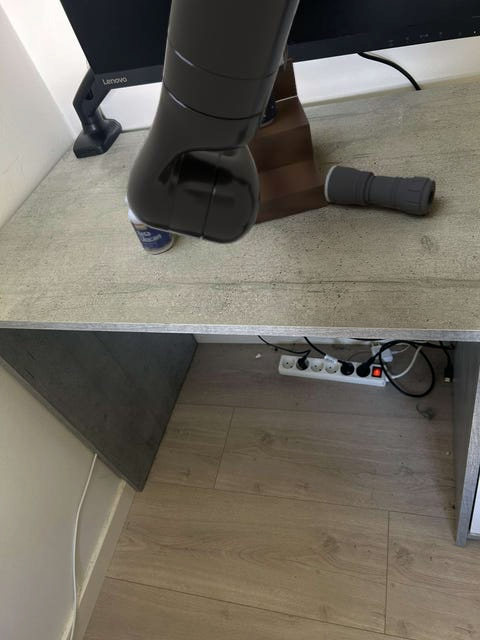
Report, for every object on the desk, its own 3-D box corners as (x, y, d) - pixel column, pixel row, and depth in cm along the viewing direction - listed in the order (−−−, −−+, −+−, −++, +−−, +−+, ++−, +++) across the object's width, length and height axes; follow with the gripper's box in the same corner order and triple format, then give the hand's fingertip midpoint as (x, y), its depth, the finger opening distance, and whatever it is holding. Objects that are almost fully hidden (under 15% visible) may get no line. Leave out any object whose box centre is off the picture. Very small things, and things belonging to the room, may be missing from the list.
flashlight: (437, 201, 72) (440, 169, 68) (426, 224, 69) (427, 192, 65) (340, 188, 79) (337, 158, 75) (326, 208, 77) (322, 179, 73)
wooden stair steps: (305, 147, 90) (291, 57, 78) (327, 205, 77) (315, 108, 66) (232, 167, 92) (208, 82, 80) (241, 227, 79) (215, 136, 67)
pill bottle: (144, 258, 79) (119, 210, 72) (144, 238, 83) (120, 190, 76) (175, 249, 79) (154, 199, 72) (174, 230, 83) (153, 180, 76)
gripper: (277, 44, 46) (281, -12, 56) (138, 77, 49) (166, 19, 59) (291, 119, 51) (292, 56, 62) (164, 145, 54) (186, 81, 65)
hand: (230, 38), depth 61 cm, fingers open, 8 cm apart
